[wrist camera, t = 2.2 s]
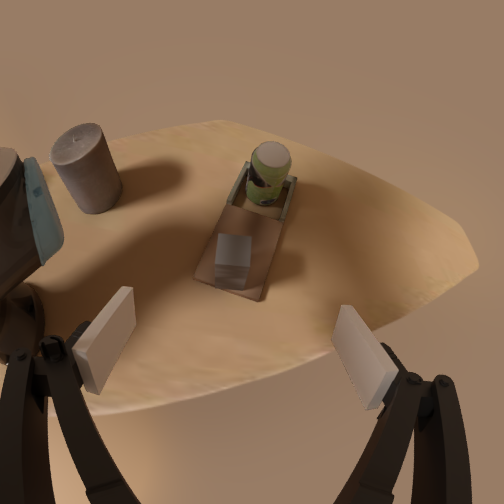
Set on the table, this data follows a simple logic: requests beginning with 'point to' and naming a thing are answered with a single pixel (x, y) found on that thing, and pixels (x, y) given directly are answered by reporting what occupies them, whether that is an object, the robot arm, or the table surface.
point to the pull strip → (258, 248)
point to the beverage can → (267, 172)
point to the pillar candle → (87, 168)
